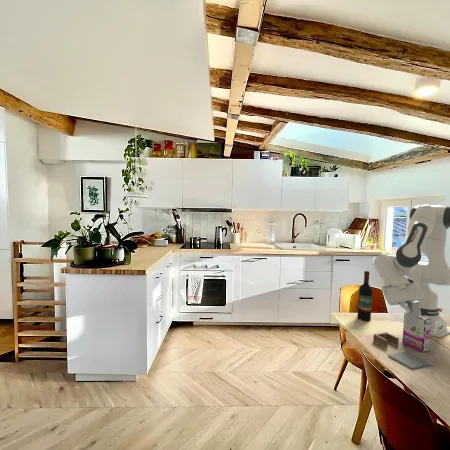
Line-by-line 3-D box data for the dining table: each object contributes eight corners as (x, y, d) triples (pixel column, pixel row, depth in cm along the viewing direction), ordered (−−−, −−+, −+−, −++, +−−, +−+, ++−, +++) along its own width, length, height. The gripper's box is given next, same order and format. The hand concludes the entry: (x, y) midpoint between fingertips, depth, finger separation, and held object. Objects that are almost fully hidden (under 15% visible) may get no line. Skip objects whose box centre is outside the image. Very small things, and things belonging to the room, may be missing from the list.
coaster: (406, 352, 146) (406, 350, 146) (431, 365, 134) (431, 363, 134) (388, 356, 141) (388, 354, 141) (412, 369, 130) (412, 368, 130)
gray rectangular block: (411, 323, 139) (413, 299, 138) (418, 325, 136) (420, 301, 135) (405, 324, 137) (407, 300, 137) (411, 326, 135) (413, 302, 134)
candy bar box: (429, 351, 148) (432, 318, 147) (423, 352, 146) (425, 319, 145) (408, 341, 158) (410, 310, 157) (401, 342, 156) (403, 311, 155)
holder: (385, 339, 159) (386, 332, 159) (398, 345, 152) (398, 338, 152) (373, 341, 156) (373, 334, 156) (385, 348, 149) (385, 340, 149)
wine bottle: (371, 318, 189) (374, 271, 187) (369, 322, 183) (372, 273, 180) (358, 315, 193) (361, 269, 191) (356, 319, 187) (359, 271, 184)
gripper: (384, 282, 138) (402, 310, 130) (416, 279, 145) (434, 306, 137) (376, 289, 143) (392, 317, 134) (407, 286, 150) (424, 312, 141)
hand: (414, 311), depth 136 cm, fingers closed on gray rectangular block, 4 cm apart
